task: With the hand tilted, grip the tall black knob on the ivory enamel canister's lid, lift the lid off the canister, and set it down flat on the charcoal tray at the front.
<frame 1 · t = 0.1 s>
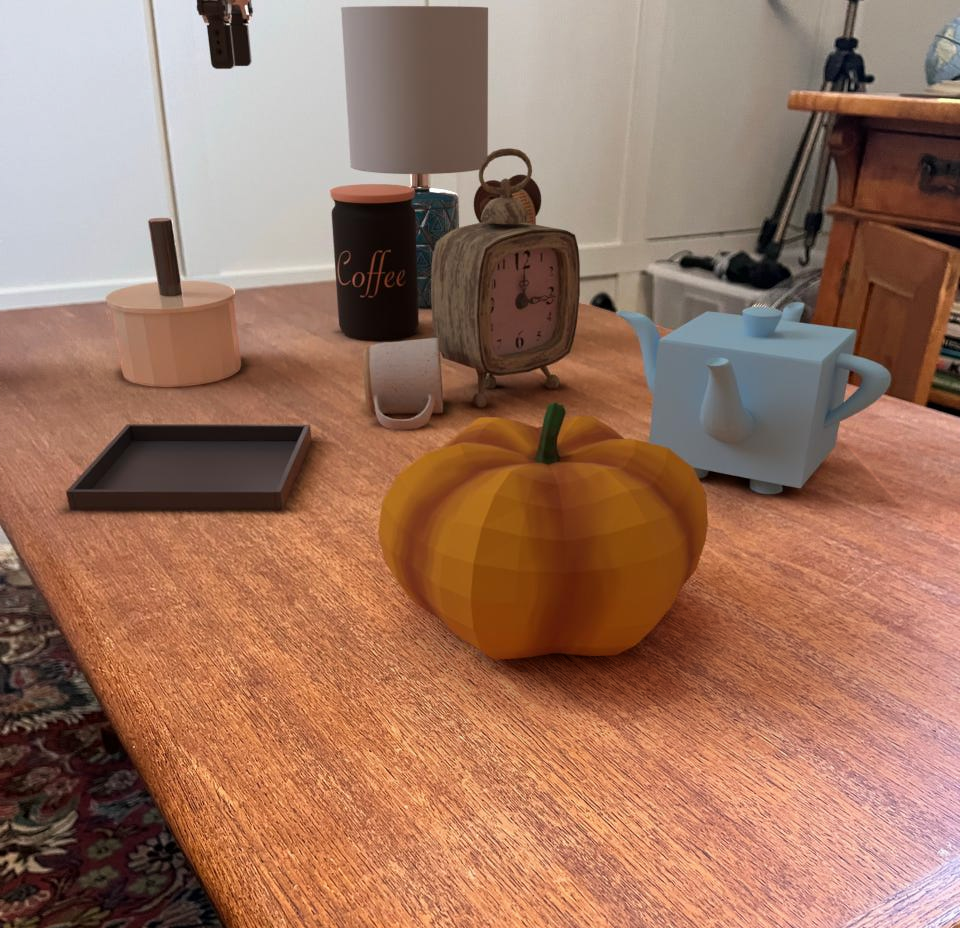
hand: (232, 67, 104), 32 cm above the table, tool pointing down, fingers open, 8 cm apart
tray: (200, 476, 93), on the table
canister: (182, 372, 121), on the table
lid: (171, 299, 117), point 8 cm above the table, touching canister
teakettle: (729, 470, 95), on the table
tabletop clock: (500, 395, 115), on the table
lamp: (423, 304, 152), on the table
decorative pumpkin: (541, 619, 71), on the table
dark rounded piece: (506, 345, 133), on the table
ceramic mug: (408, 418, 108), on the table
coffee jar: (379, 335, 137), on the table
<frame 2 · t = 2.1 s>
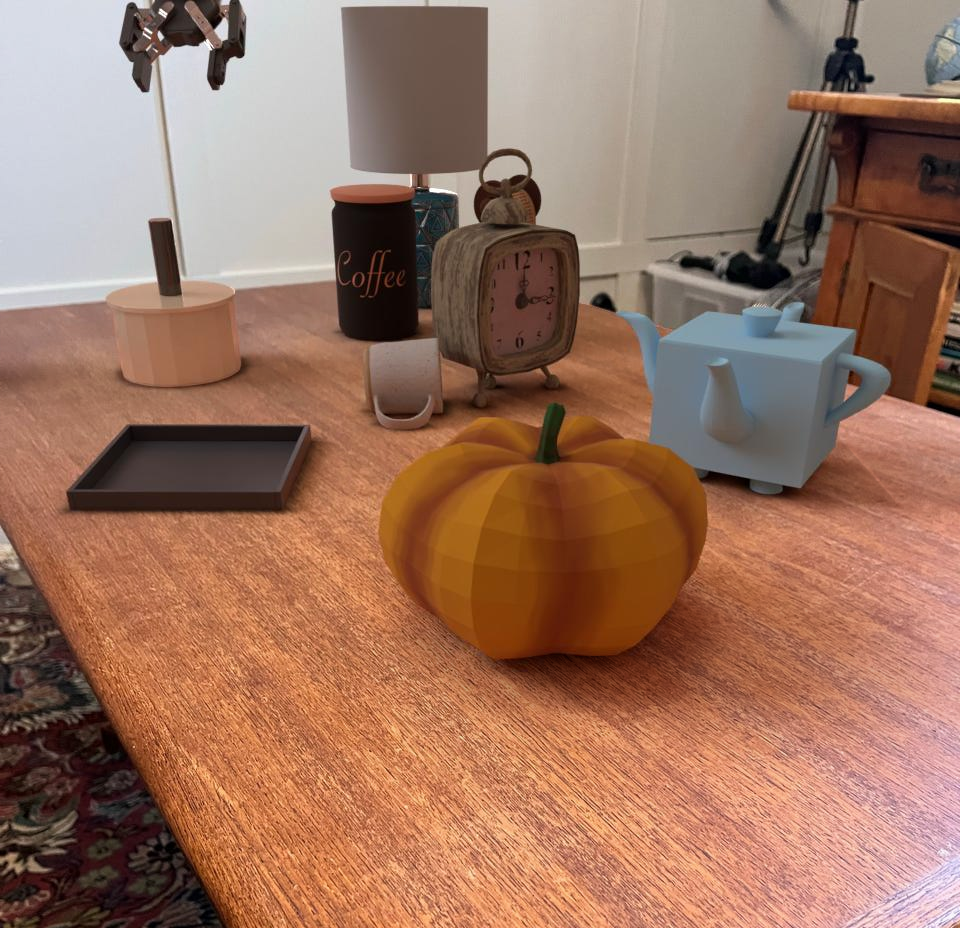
hand: (177, 86, 116), 30 cm above the table, tool tilted 40°, fingers open, 8 cm apart
nothing on the table moved.
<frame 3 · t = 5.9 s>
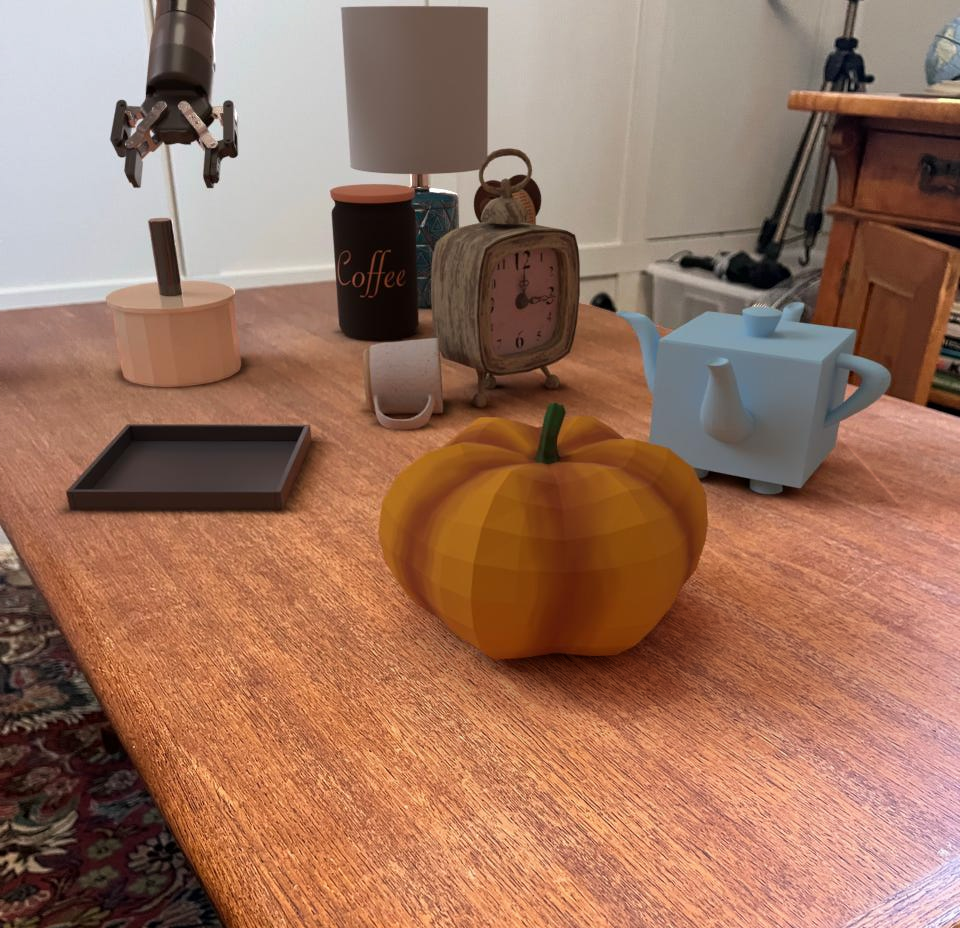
hand: (171, 183, 117), 20 cm above the table, tool tilted 45°, fingers open, 8 cm apart
nothing on the table moved.
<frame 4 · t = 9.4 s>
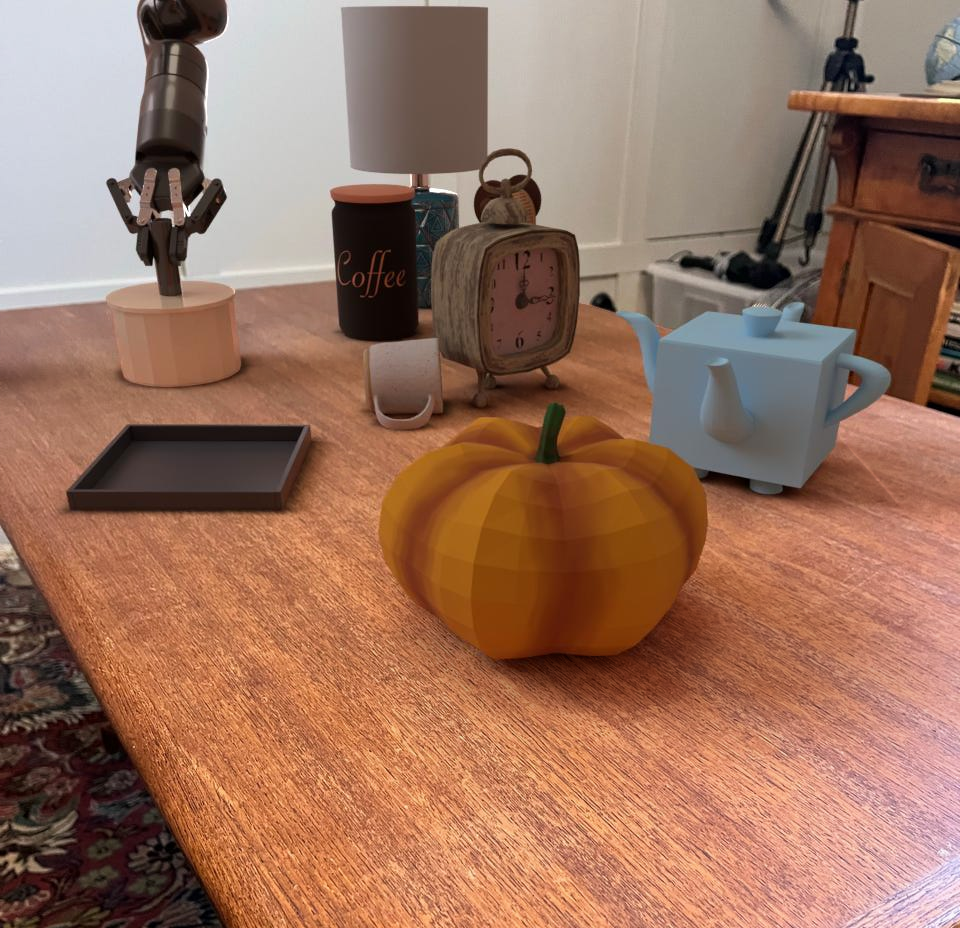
hand: (160, 261, 113), 13 cm above the table, tool tilted 45°, fingers closed on lid, 2 cm apart
lid: (171, 299, 117), point 8 cm above the table, touching canister, gripper
everything else where it was.
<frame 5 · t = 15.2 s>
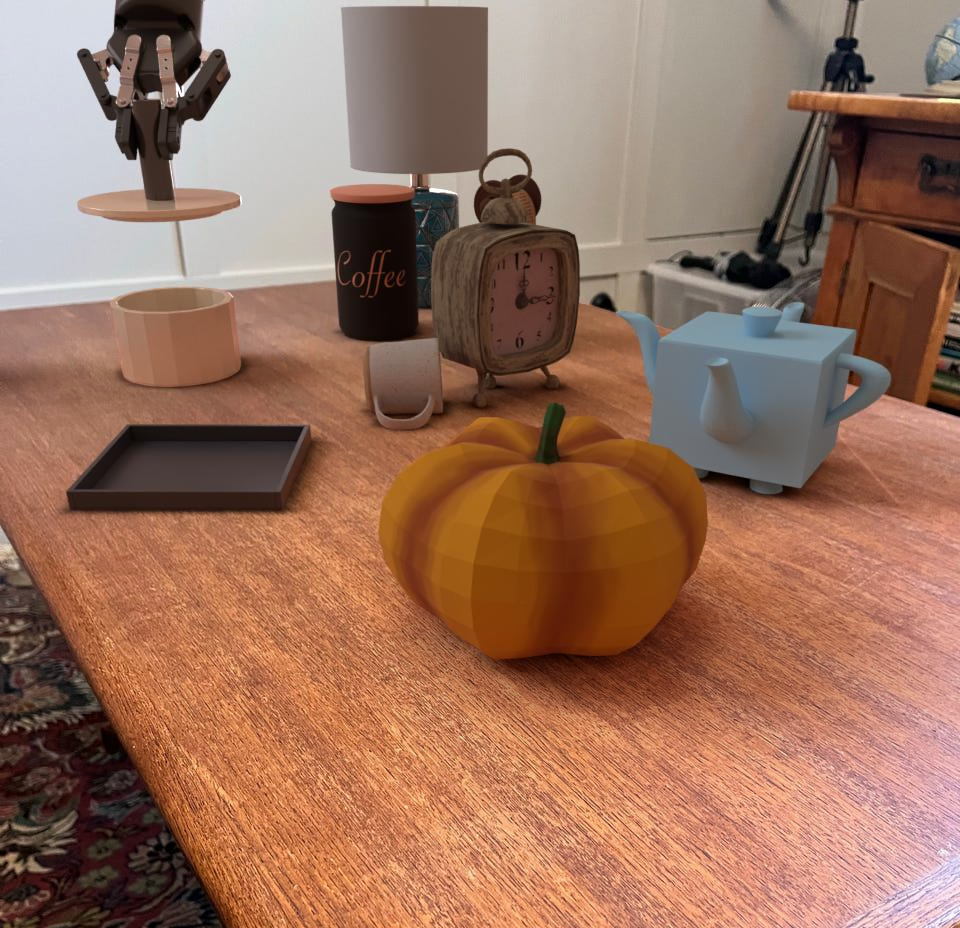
hand: (147, 153, 88), 26 cm above the table, tool tilted 45°, fingers closed on lid, 2 cm apart
lid: (161, 205, 93), point 21 cm above the table, touching gripper
everything else where it was.
when the fingers open (6 cm above the table, at t = 21.3 s): lid stays where it is, resting on tray.
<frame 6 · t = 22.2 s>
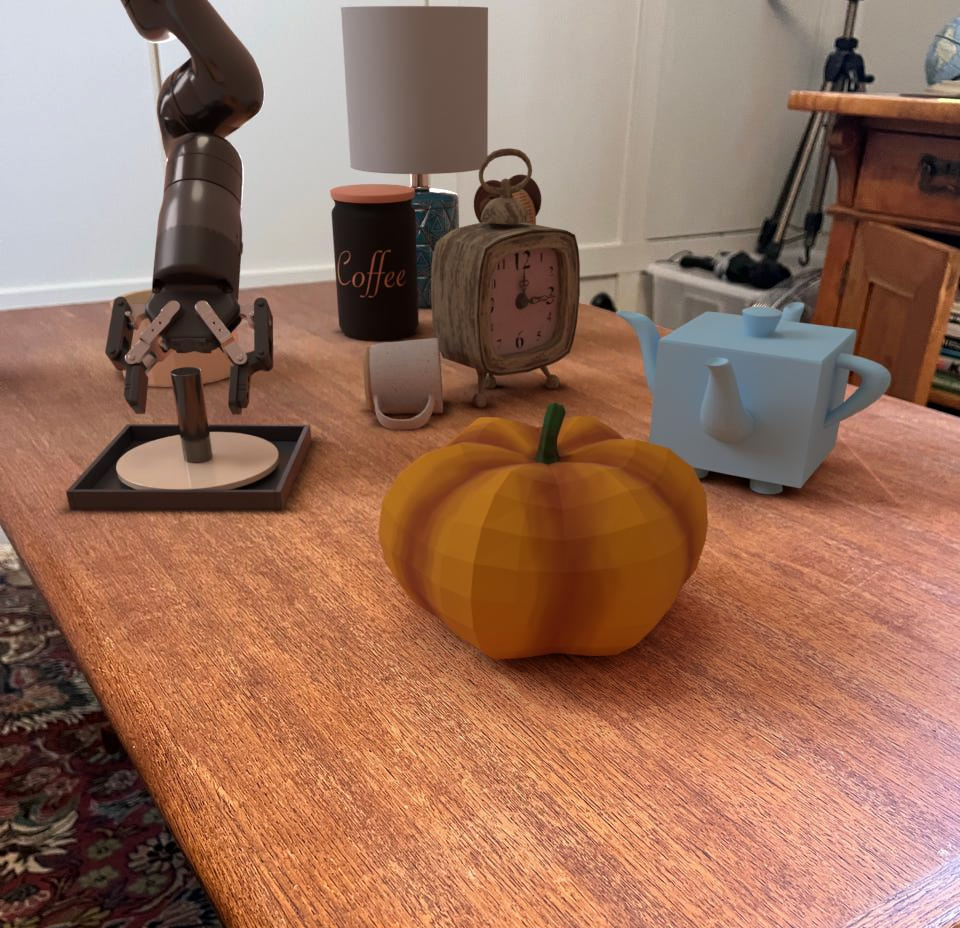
hand: (186, 410, 88), 7 cm above the table, tool tilted 45°, fingers open, 8 cm apart
lid: (199, 464, 92), point 1 cm above the table, touching tray
everything else where it was.
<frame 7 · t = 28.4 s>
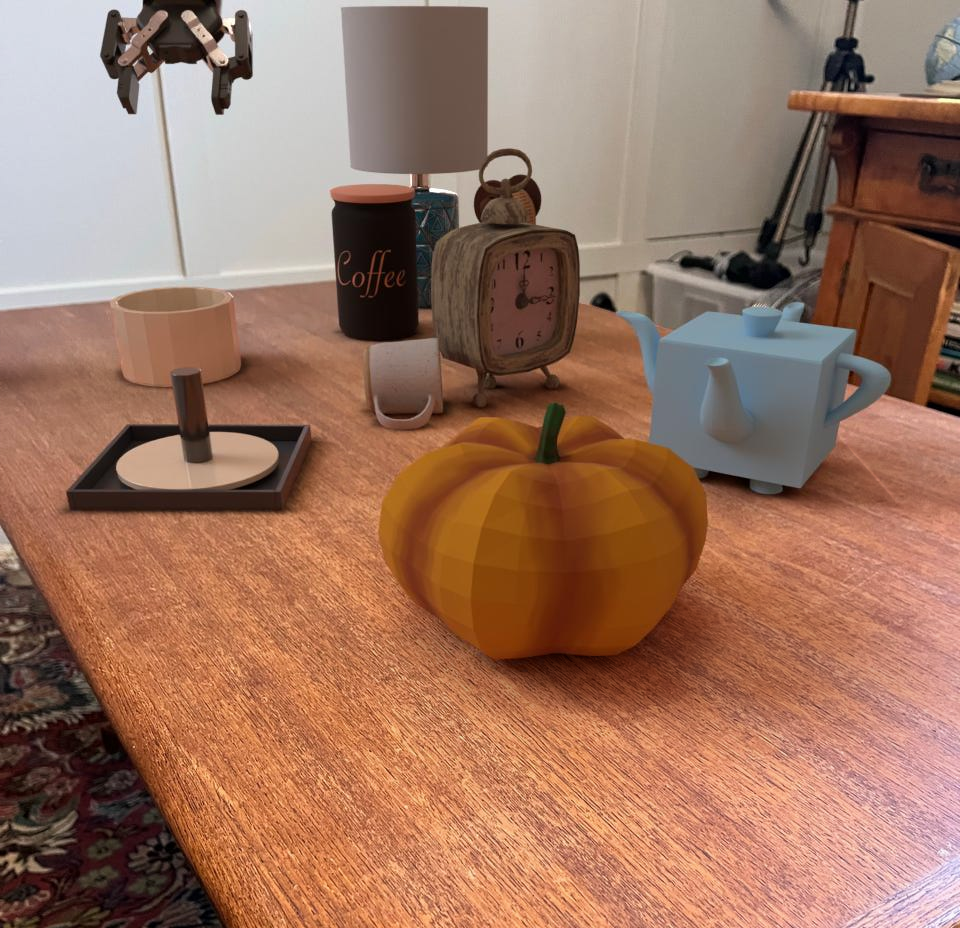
hand: (173, 108, 98), 29 cm above the table, tool tilted 45°, fingers open, 8 cm apart
nothing on the table moved.
at the end: lid inside the target area in the tray (0.0 cm from its centre), point 1.1 cm above the tray's base; lid tilted 0°; the gripper is holding nothing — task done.
